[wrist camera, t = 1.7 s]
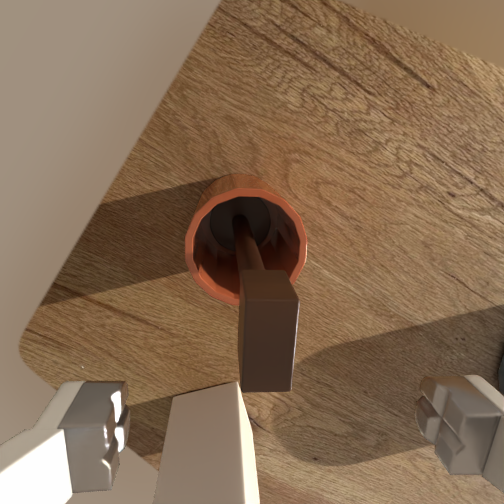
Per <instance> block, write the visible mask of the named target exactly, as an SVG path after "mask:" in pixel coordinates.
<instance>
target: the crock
mask: <svg viewBox="0 0 504 504" xmlns="http://www.w3.org/2000/svg"><path fill="white" fill-rule="evenodd" d="M238 196H242V197H259V198H260V199H261V200H262V201H263V202H264V204H265V205H266V207H267V208H268V211H269V214H270V219H271V224H270V229H269V232H268V235H267V236H266V238H265V239H264V241H263V242H262V243H261V244H260V245H258V246H257V248H258V251H259V254H260V256H261V259H262V262H263V265H264V268H265V270H284V271H286V273H287V275H288V277H289V280H290V282H291V284H294V282H295V281H296V279H297V277H298V275H299V274H300V272H301V270H302V268H303V266H304V264H305V262H306V252H307V242H308V240H307V236H306V233H305V230H304V227H303V223H302V220H301V218H300V216H299V215H298V214H297V213H296V212H295V211H294V209H293V208H292V207H291V206H290V205H289V204H288V203H287V201H286V200H285V199H284V198H282V197H281V196H280V195H279V194H278V193H277V192H276V191H275V190H274V189H273V188H272V187H271V186H270V185H268V184H267V183H266V182H264V181H262V180H260V179H259V178H257V177H254V176H252V175H247V174H231V175H227V176H224V177H222V178H219V179H218V180H215V181H214V182H213V183H212V184H211V185H209V186H208V187H207V188H206V190H205V191H204V192H203V193H202V195H201V197H200V199H199V202H198V204H197V206H196V209H195V211H194V214H193V217H192V219H191V222H190V225H189V227H188V230H187V232H186V235H185V261H186V264H187V266H188V268H189V270H190V272H191V275H192V277H193V279H194V281H195V282H196V283H197V284H198V285H199V286H200V287H201V288H202V289H203V290H204V291H205V292H207V293H208V294H209V295H210V296H211V297H213V298H215V299H218V300H221V301H223V302H226V303H228V304H231V305H239V298H240V279H239V271H238V264H237V256H236V251H232V250H229V249H226V248H224V247H223V246H221V245H220V244H219V243H218V242H217V241H216V239H215V238H214V236H213V234H212V232H211V229H210V215H211V210H212V209H213V208H214V207H215V206H216V205H217V204H219V203H222V202H224V201H227V200H230V199H232V198H235V197H238Z"/></svg>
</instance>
